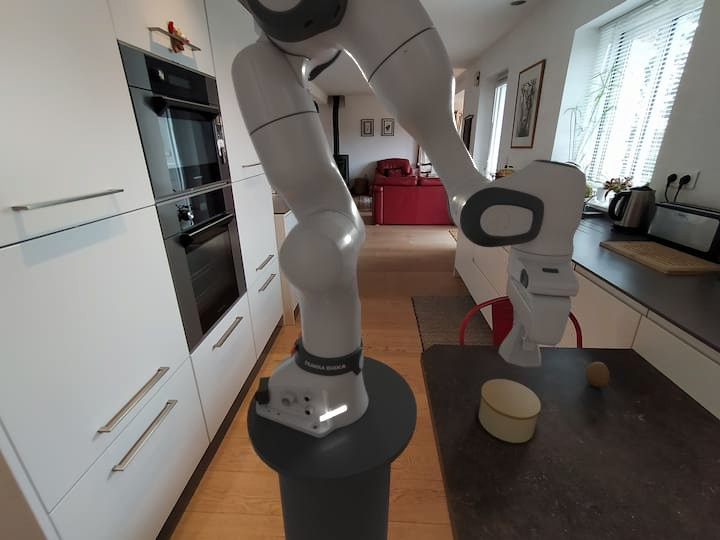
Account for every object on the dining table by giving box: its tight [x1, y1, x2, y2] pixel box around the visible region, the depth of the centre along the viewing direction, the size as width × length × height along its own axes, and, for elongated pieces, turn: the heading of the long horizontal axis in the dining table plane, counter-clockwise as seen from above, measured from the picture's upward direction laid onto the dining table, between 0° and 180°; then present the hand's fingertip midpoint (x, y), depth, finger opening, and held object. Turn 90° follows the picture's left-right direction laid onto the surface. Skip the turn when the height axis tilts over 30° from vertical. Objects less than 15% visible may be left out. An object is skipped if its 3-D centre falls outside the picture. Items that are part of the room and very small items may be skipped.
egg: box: [584, 361, 610, 388], centre depth 73 cm, size 4×4×6 cm
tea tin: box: [478, 378, 542, 444], centre depth 63 cm, size 10×10×6 cm
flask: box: [497, 317, 542, 368], centre depth 57 cm, size 7×7×10 cm
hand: (522, 339), depth 57 cm, fingers closed on flask, 5 cm apart
